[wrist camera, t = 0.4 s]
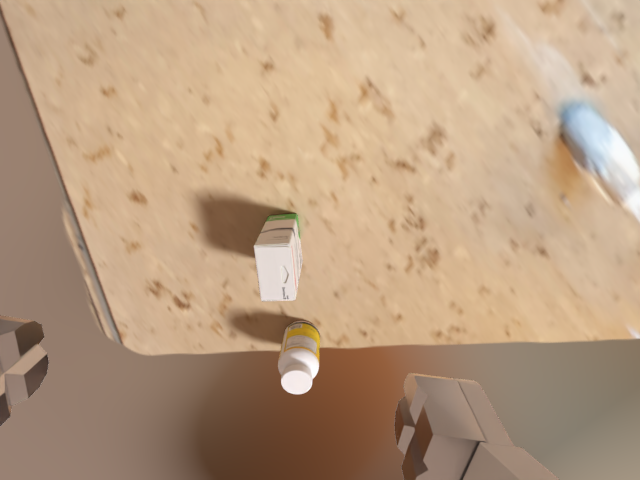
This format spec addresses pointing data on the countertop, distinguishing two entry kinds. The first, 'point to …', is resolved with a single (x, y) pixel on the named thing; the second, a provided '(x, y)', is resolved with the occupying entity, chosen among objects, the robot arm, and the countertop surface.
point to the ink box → (279, 258)
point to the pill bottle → (299, 357)
